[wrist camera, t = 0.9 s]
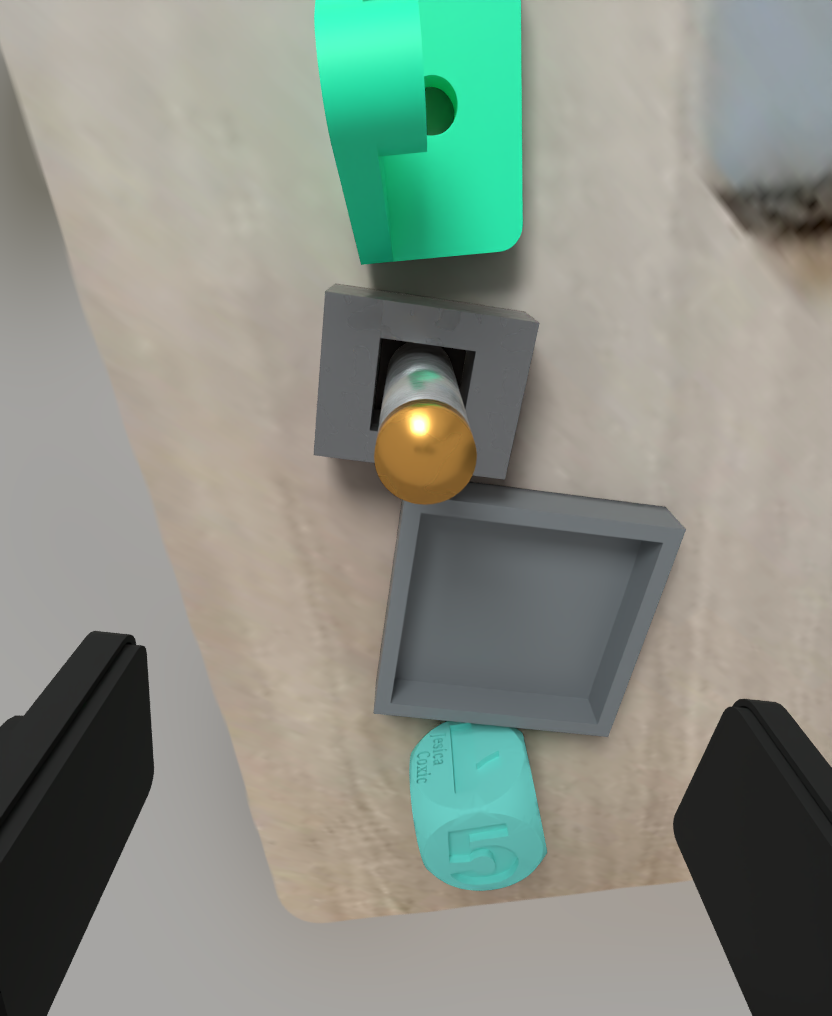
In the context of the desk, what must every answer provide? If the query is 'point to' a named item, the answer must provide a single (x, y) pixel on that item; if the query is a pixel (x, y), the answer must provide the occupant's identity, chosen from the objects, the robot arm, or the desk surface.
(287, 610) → the desk surface
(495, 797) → the decorative dice
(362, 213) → the green mounting bracket
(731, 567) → the desk surface
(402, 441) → the pin
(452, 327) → the block
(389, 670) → the tray
